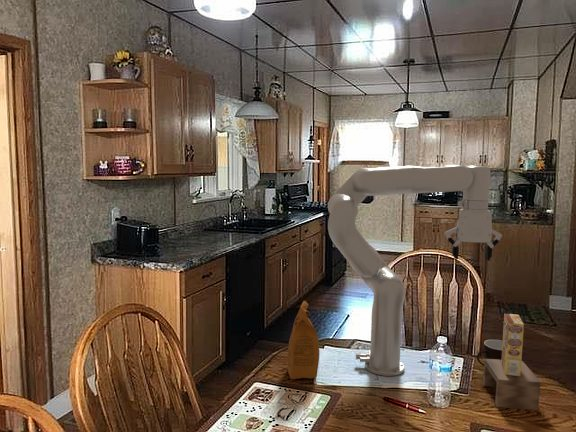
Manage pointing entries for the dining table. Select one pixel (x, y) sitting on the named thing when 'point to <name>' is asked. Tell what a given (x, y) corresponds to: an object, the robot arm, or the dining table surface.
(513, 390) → the walnut shelf
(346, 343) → the dining table surface
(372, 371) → the robot arm
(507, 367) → the candy box
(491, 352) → the coffee mug
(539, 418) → the dining table surface
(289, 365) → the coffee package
